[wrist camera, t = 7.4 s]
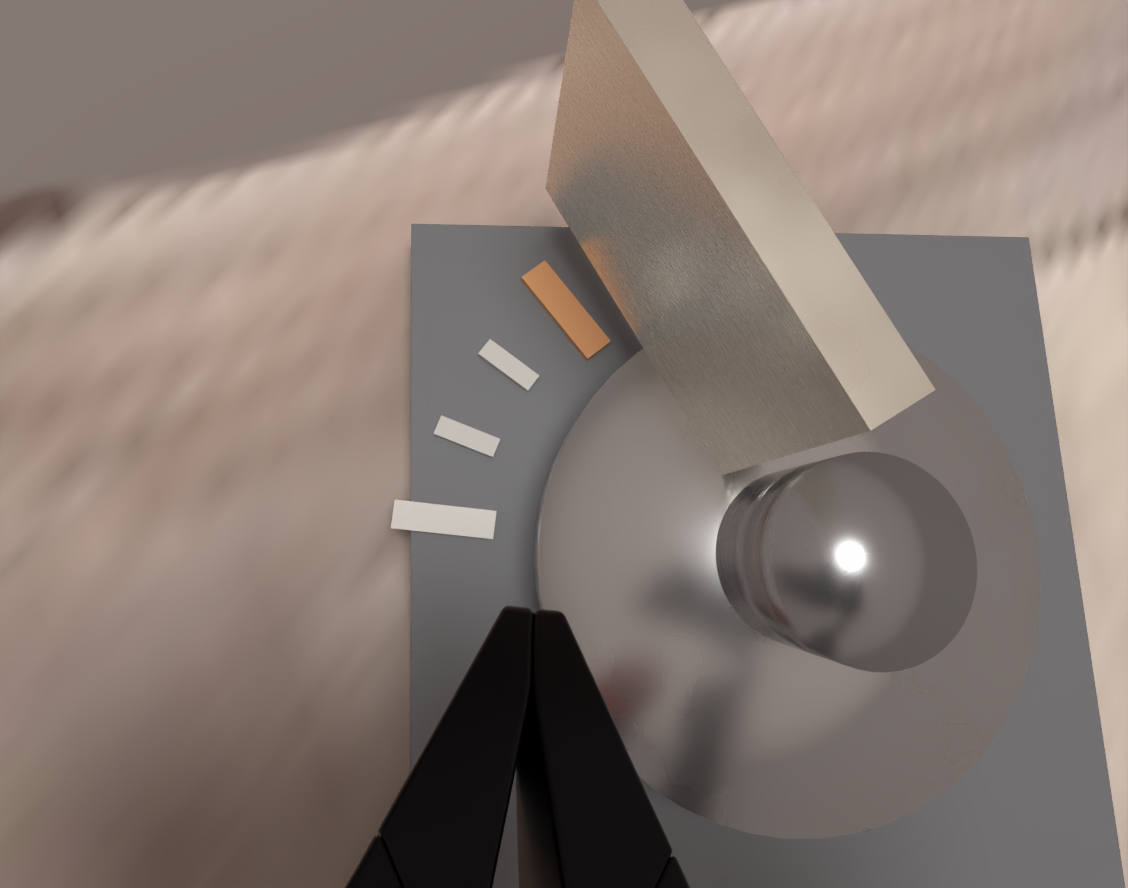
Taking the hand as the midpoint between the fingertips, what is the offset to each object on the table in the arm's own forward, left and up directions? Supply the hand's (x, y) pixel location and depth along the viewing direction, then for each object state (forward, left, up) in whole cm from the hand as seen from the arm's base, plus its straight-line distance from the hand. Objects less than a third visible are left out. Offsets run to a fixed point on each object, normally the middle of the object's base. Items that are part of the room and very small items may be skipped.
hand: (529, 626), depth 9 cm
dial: (+3, -5, -7) cm, 9 cm away
